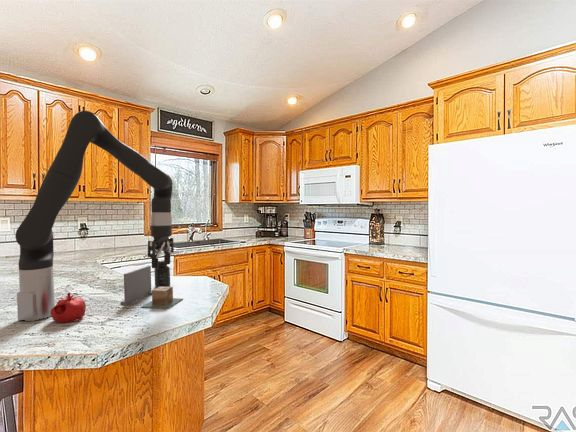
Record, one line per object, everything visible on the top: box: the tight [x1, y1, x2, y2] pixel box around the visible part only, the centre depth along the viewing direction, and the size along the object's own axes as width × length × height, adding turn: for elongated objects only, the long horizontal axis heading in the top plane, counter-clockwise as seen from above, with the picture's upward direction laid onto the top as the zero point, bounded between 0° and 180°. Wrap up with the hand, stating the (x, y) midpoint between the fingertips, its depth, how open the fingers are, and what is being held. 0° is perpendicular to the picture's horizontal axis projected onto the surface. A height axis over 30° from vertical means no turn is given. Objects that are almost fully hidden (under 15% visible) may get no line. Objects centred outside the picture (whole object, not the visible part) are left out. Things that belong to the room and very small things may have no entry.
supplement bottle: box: [153, 259, 171, 289], centre depth 146 cm, size 7×7×12 cm
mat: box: [140, 297, 184, 310], centre depth 120 cm, size 11×11×1 cm
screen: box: [120, 265, 152, 306], centre depth 127 cm, size 16×5×12 cm, turn 172°
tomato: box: [50, 292, 87, 324], centre depth 104 cm, size 10×10×9 cm
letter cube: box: [151, 286, 174, 305], centre depth 120 cm, size 6×6×6 cm
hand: (161, 266), depth 119 cm, fingers open, 8 cm apart
